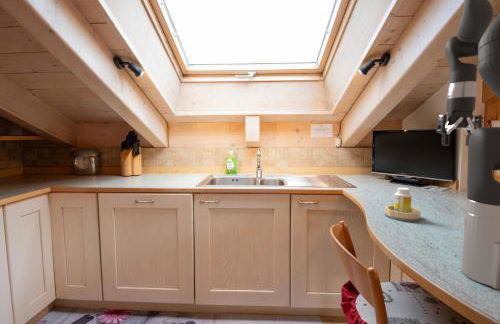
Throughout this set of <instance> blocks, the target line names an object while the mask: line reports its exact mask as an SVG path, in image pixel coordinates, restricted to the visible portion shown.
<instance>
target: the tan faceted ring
mask: <svg viewBox="0 0 500 324" xmlns="http://www.w3.org/2000/svg"><path fill="white" fill-rule="evenodd" d="M394 205H395V204H391V205H390V204H389V205H386V206H385V211H384V216H385V217H387V218H389V219H392V220H395V221H401V222H408V223H409V222H419V221H420V220H421V211H420V209H418V208H416V207H412V206H411V213H404V212H397V211H394Z"/></svg>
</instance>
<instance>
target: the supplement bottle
mask: <svg viewBox="0 0 500 324" xmlns="http://www.w3.org/2000/svg"><path fill="white" fill-rule="evenodd" d="M410 191H411V190H410V188H408V187H398V188H397V192H395V193H394V204H393V205H394V211H397V212H404V213H411V207H412V194H411V193H410Z"/></svg>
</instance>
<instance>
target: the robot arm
mask: <svg viewBox="0 0 500 324" xmlns="http://www.w3.org/2000/svg"><path fill="white" fill-rule="evenodd" d="M493 18H494V6H492V3H491V1H490V0H463V8H462V14H461V19H460V21H459V23H458V26H457V27H458V28H457V30H456V35H454V36H452V37H450V38H449V39H448V40H447V41H446V43H445V46H444V52H445V57H446V59H447V62H448V66H449V68H448V69H449V82H448V83H449V84H448V88H447V97H446V108H445V109H446V111H445V112H447V114H439V115H438V116H437V121H436V128H435V132H436V133H437V134H441V145H442V146H443V147H449V146H450V143H451V132H452V131H453V130H455V129H457V128H458V129H462V130H464V131H465V134H466V135H465V146H466V147H467V180H466V186H467V189H466V190H467V193H466V204H465V205H466V206H465V217H464V231H463V241H462V254H461V256H462V258H461V265H460V266H461V268H460V269H461V273H462V274H463V275H464V276H466V277H467V278H469V279H470V280H473V281H475V282H478V283H480V284H482V285H487V286H489V287H491V288H494V289H495V290H499V289H500V181H498V180H497V179H495V177H494V171H500V126H483V115H482V114H475V115H474V114H473V112H475V110H476V102H477V100H476V99H477V77H478V74H479V76H480V78H481V79H482V80H483V82H484V84H485V85H486V86H487V87H488V88H489V89H490V90H491V92H493V93H494V94H495V95H496V96H497V97H498V98H499V99H498V100H500V12H499V14H498V15H497V16H496V17H495V19H494V20H493V21H492V19H493ZM472 57H473V58H474V57H478V58H477V60H478V61H477V64H475V63H471V62H470V63H469V62H462V61H461V60H460V59H461V58H462V59H463V58H472Z"/></svg>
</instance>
